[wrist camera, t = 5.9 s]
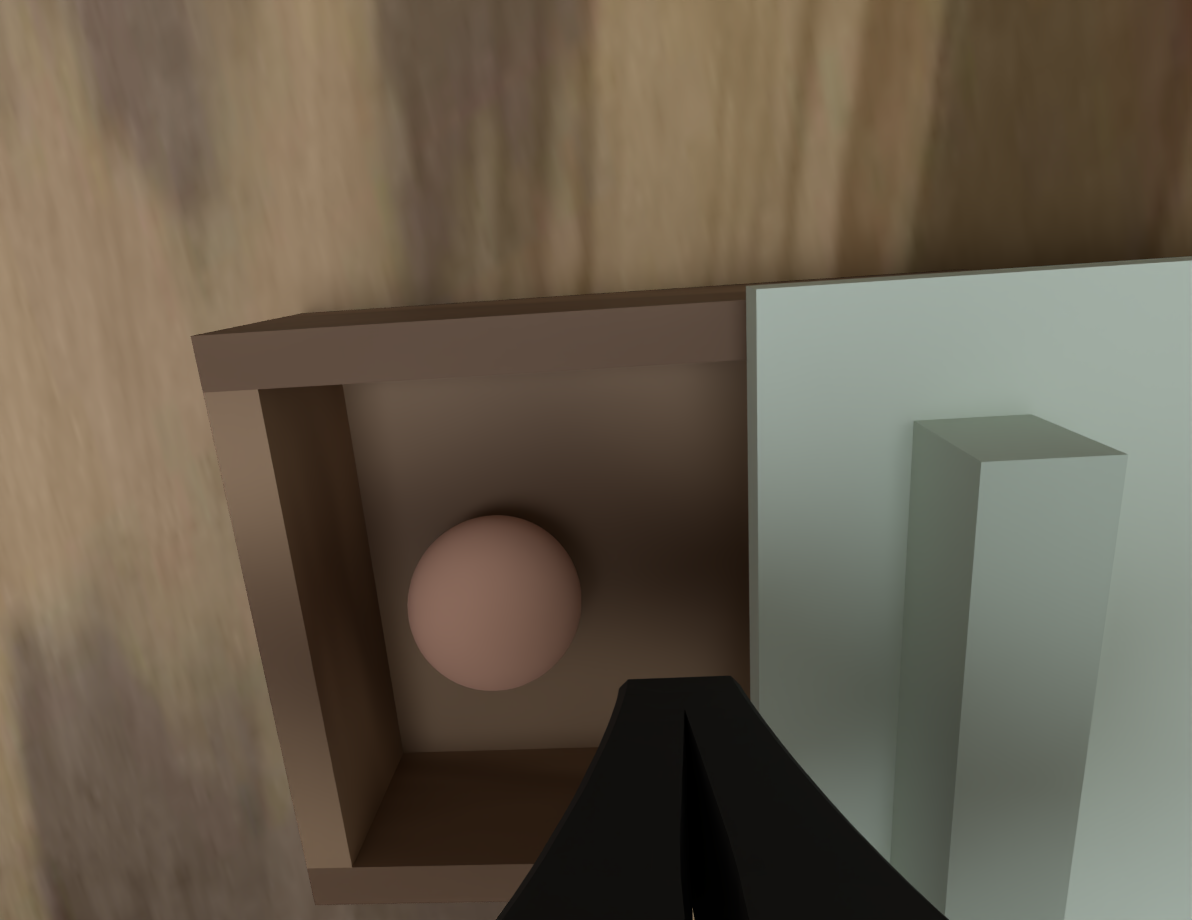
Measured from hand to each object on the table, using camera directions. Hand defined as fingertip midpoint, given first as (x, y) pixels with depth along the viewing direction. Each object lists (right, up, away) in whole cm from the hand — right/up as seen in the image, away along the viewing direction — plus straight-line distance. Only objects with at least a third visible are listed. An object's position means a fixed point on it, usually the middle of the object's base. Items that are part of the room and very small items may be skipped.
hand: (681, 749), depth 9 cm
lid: (+7, +1, +2) cm, 8 cm away
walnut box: (0, +2, +6) cm, 6 cm away
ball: (-3, +1, +5) cm, 6 cm away
